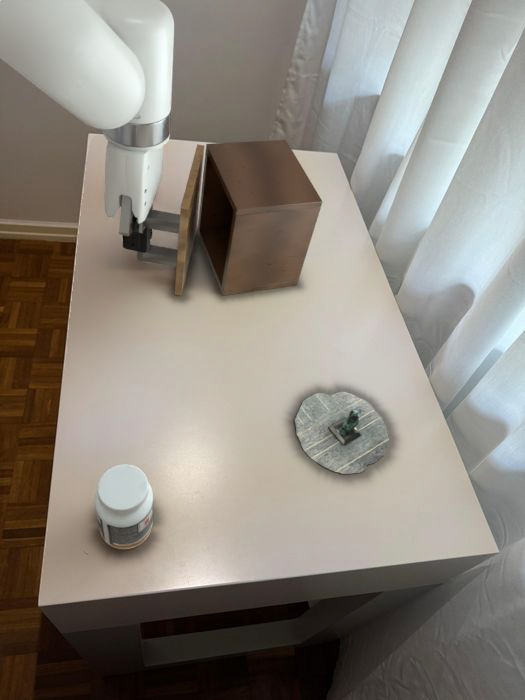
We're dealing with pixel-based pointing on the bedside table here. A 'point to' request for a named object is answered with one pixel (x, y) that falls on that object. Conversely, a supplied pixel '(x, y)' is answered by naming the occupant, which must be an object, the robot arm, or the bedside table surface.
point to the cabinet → (256, 215)
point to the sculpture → (341, 432)
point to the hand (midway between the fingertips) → (137, 242)
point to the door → (177, 226)
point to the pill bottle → (124, 506)
